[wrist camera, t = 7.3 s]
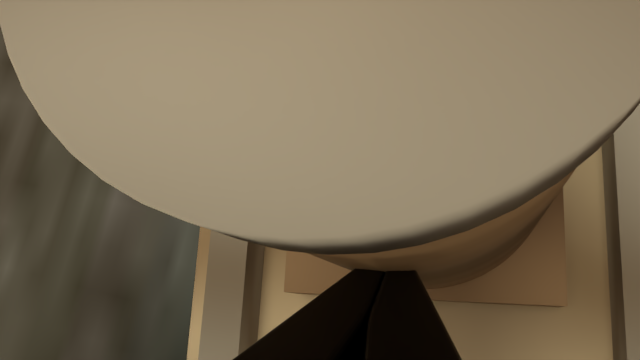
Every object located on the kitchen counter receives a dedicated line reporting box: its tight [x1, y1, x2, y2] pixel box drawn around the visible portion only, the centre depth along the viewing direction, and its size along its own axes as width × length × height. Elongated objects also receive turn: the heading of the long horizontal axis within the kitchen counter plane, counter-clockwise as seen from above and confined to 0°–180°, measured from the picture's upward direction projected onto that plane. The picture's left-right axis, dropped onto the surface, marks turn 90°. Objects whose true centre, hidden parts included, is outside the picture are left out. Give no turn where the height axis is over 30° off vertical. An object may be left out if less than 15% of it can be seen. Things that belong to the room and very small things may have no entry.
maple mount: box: [187, 104, 640, 360], centre depth 13 cm, size 16×12×5 cm
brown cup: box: [0, 0, 640, 307], centre depth 9 cm, size 6×6×10 cm
